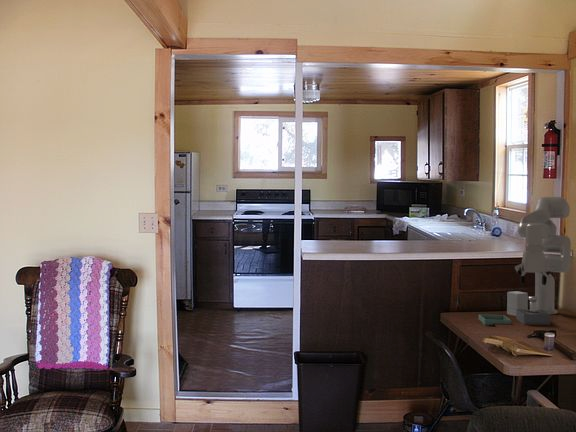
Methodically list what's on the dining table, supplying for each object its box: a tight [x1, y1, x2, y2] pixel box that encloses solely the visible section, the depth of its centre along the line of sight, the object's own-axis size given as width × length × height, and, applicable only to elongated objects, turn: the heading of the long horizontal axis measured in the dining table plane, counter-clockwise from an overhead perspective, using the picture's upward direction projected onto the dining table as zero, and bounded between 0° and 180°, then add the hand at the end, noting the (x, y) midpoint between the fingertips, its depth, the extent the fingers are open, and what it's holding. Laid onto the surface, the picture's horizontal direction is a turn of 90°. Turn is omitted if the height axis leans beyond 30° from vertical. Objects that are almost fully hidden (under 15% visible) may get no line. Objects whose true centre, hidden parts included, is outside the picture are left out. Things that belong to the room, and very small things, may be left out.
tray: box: [478, 314, 512, 326], centre depth 271 cm, size 12×12×3 cm
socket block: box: [515, 309, 552, 326], centre depth 269 cm, size 12×12×6 cm
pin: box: [528, 295, 538, 313], centre depth 269 cm, size 4×4×12 cm
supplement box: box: [506, 290, 529, 317], centre depth 287 cm, size 7×7×13 cm
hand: (533, 284), depth 268 cm, fingers open, 9 cm apart
